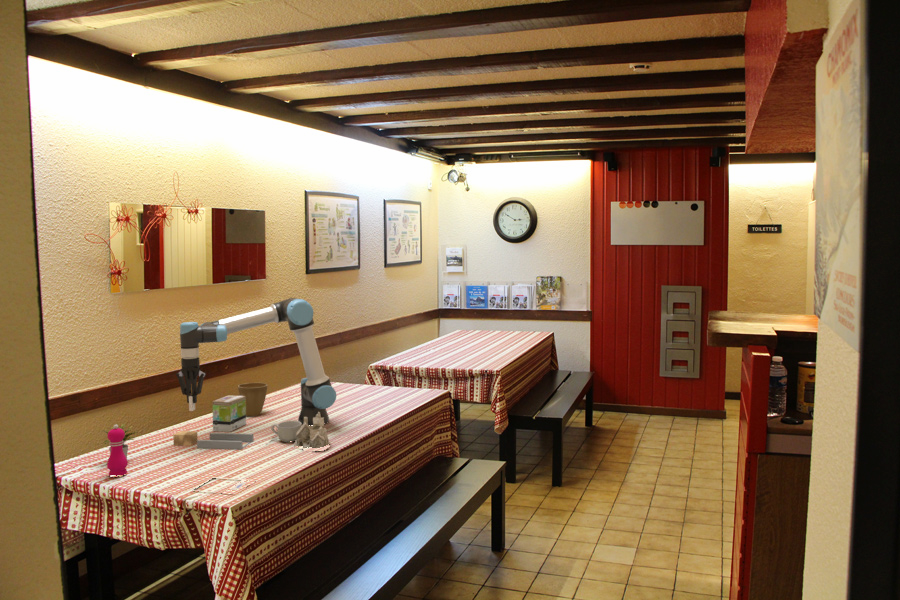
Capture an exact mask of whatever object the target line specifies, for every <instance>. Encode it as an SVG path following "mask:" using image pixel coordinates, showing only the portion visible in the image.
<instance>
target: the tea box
mask: <svg viewBox="0 0 900 600" xmlns="http://www.w3.org/2000/svg"><path fill="white" fill-rule="evenodd" d="M246 424H247V416H246V396H240V395H235V394H234V395H229V394H228V395H226V396H222V397H220V398H218V399H215V400H213V401H212V431H213V432H223V433H232V432H233V431H234V430H236V429H239V428H241V427H242V426H243V427H244V426H246Z"/></svg>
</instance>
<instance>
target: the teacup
mask: <svg viewBox="0 0 900 600" xmlns="http://www.w3.org/2000/svg"><path fill="white" fill-rule="evenodd" d="M301 424H302V423H301V422H299V421H298V420H285V421H281V422H279V423H273V424H272V425H271V427H270V428H271V431H272V432H273V433H274V434H275V435H277V437H278V439H279V440H280V441H281V442H283V441H284V443H291V442H290V441H295V440H297V439H296V438H297V437H296V432H298V430H299V429H300V428H301V427H302V425H301ZM275 427H276V429H277V431H276V429H275Z"/></svg>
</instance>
